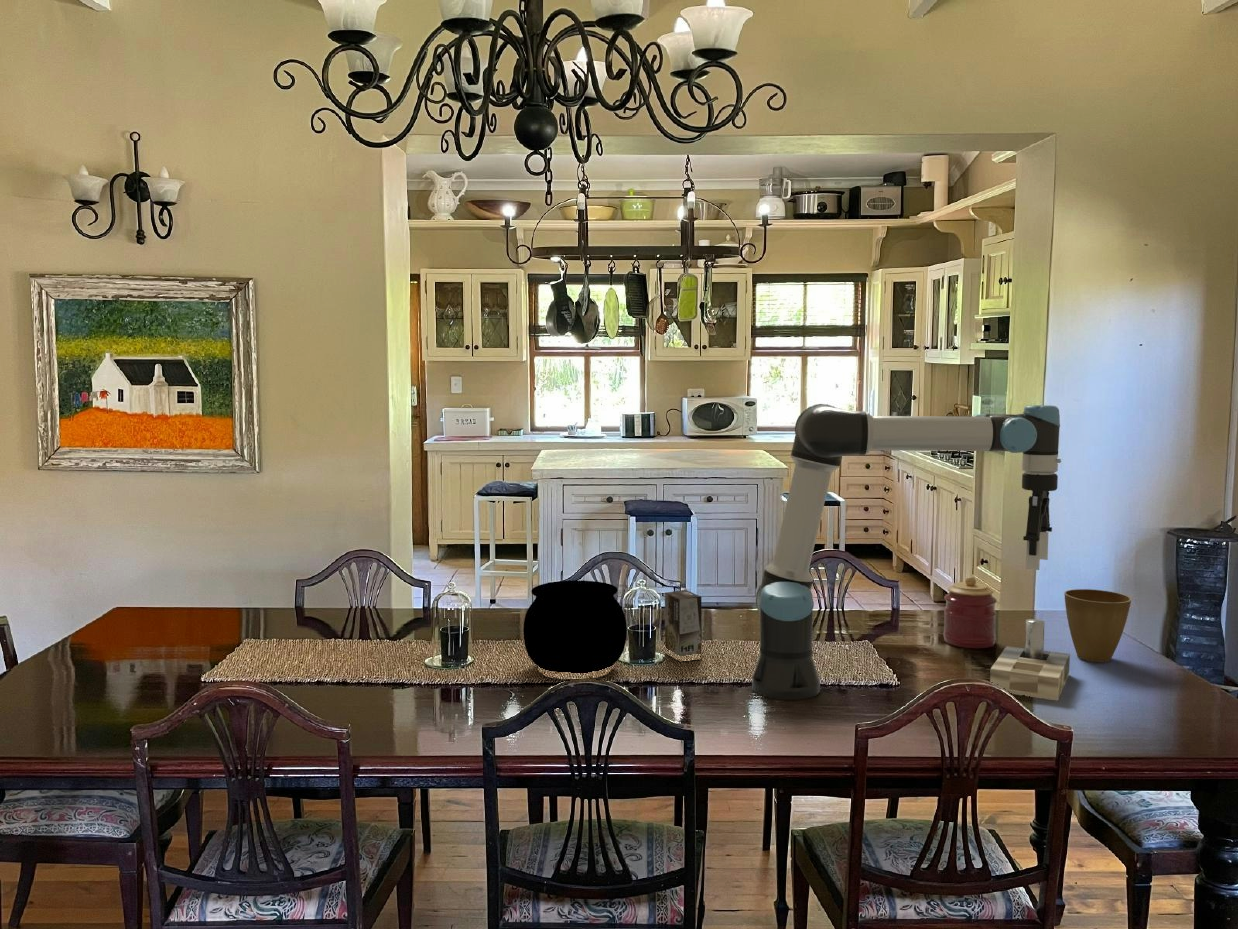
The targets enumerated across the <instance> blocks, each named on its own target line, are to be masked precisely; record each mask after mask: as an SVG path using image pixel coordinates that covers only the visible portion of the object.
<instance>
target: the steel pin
mask: <svg viewBox="0 0 1238 929" xmlns="http://www.w3.org/2000/svg"><path fill="white" fill-rule="evenodd" d="M1024 644H1025V645H1024V648H1025V658H1029V659H1037V660H1043V656H1044V651H1045V649H1044V648H1045V645H1044V644H1045V621H1044V620H1042V619H1035V618H1034V619H1033V618H1032V619H1031V618H1028V619H1025V642H1024Z"/></svg>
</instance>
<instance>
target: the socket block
mask: <svg viewBox="0 0 1238 929" xmlns="http://www.w3.org/2000/svg"><path fill="white" fill-rule="evenodd" d="M1070 657H1071V654H1070V653H1064V652H1057V651H1049V650H1044V656H1043V660H1037V659H1029V658H1025V647H1019V646H1018V647H1015V646H1010V645H1007V646H1005V648H1004V649H1003V650H1002V652H1001V653H1000V655H998V657H997V660H995V661H994V663H993V664H992V666H991V667H990V671H989V675H990V676H989V683H990V682H993V683H995V684H998V685H999V686H1001V687H1002V688H1005V689H1006V691H1009V692H1010V693H1012V694H1011V695H1017V696H1022V695H1025V697H1029V696H1030V697H1031V698H1035V699H1036V698H1037V699H1043V698H1044V700H1051V701H1059V699H1060V696H1061V695H1062V693H1063V690H1064V688H1065V685H1066V682H1067V681H1068V678H1069V676H1070V661H1071V660H1070V659H1071V658H1070Z"/></svg>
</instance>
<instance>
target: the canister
mask: <svg viewBox="0 0 1238 929" xmlns="http://www.w3.org/2000/svg"><path fill="white" fill-rule="evenodd" d="M947 590H948V591H949V592H948V593H947V594H945V595H944V597H943V598H944V600H945V602H946V603H945V607H944V609H943V611H944V625H943V626H944V630H943V638H944V642H945V643H946V644H949V645H951V646H955V647H957V648H958V647H959V648H965V649H987V648H992V647H993V646H994V645H995V643H996V642H995V641H996V636H997V635H996V616H997V611H996V610H995V604H996V603H997V601H998V600H997V598H995V596H993V594H994V592H995V591H994V589H992V588H991V587H989V586H988V585H987V584H984V583H980V582H977V580H976V578H975V577H973V576H972V575H971V576H967V577H966V578H965V581H960V582H959V581H958V582H955V583H953V585H950V586H948V588H947Z"/></svg>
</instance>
